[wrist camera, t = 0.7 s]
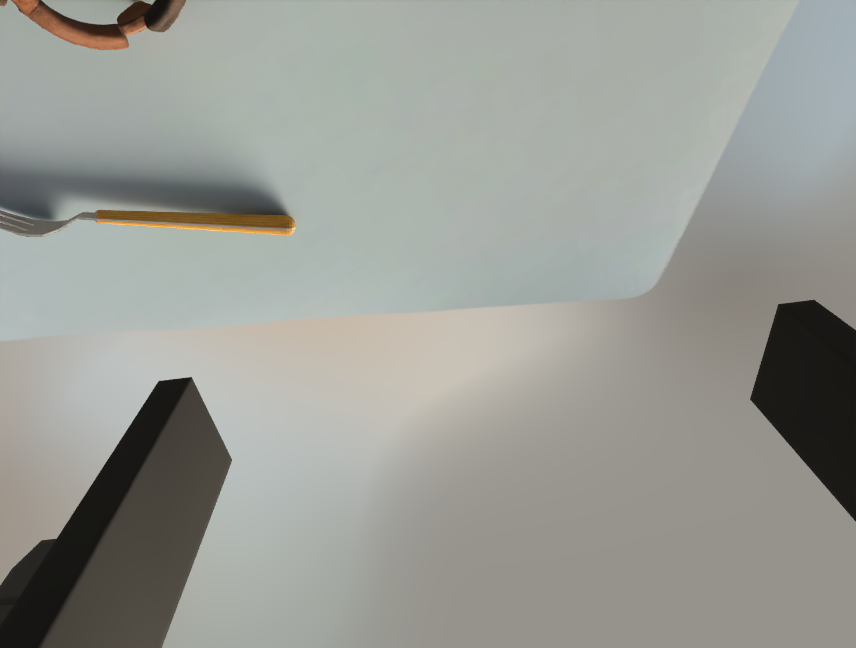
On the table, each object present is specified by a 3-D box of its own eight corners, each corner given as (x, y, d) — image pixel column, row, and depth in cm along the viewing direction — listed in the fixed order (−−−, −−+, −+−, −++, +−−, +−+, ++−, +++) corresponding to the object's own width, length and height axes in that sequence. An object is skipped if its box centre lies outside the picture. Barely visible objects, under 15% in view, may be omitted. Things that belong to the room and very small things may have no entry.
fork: (296, 217, 34) (-67, 203, 29) (296, 242, 35) (-56, 234, 30) (294, 206, 36) (-44, 191, 31) (294, 230, 37) (-34, 220, 32)
